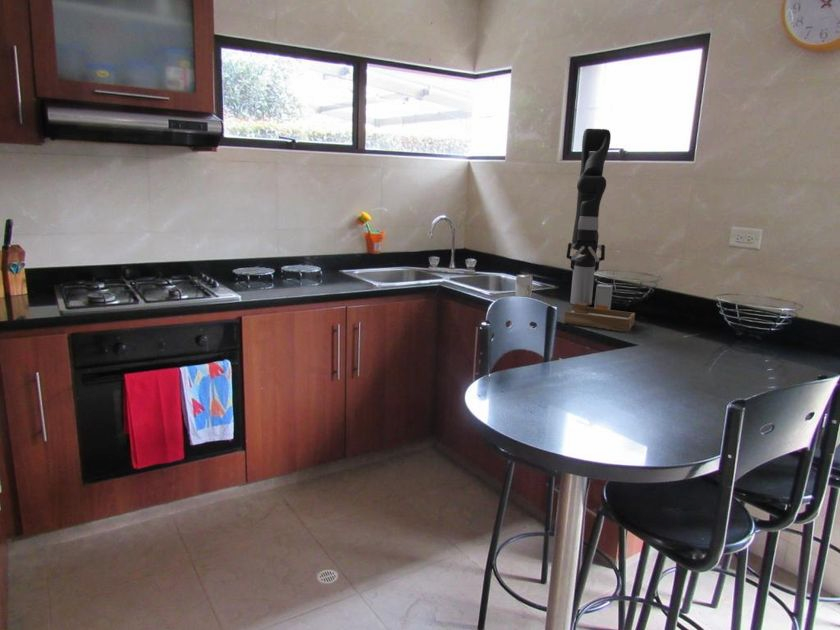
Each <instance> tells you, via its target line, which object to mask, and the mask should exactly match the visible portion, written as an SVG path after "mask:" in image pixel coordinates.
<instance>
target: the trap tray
mask: <svg viewBox="0 0 840 630" xmlns="http://www.w3.org/2000/svg"><path fill="white" fill-rule="evenodd" d="M574 307H575V305H574V304H572V310H571V311H565V312H564V319H563V321H564V322H563V324H565V323H569V324H568V325H572V324H577V325H576V326H580V325H582V326H581V327H587V326H589V328H595V327H598V328H597V329H602V328H606V329H605V330H610V329H612V331H617V330H618V332H626V333H629V332H630V330H631V328H633V326H634V325H635V316H636V312H630V311H622V310H614V309H610V310H607V309H599V308H594V307H589V306H588V312H587V314H581V313H574Z"/></svg>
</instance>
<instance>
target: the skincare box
mask: <svg viewBox="0 0 840 630" xmlns="http://www.w3.org/2000/svg"><path fill="white" fill-rule="evenodd" d="M613 288H614V285H612V284H609V285H608V284H600V283H598V284H597V285H596V290H595V299H594V307H593V308H599V309H607V310H611V307H612V306H611V305H612V297H613V290H614V289H613Z"/></svg>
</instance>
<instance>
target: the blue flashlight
mask: <svg viewBox="0 0 840 630" xmlns="http://www.w3.org/2000/svg"><path fill="white" fill-rule="evenodd" d="M514 288H515V289H514V290H515V291H514V292H515V297H516V296H521V297H530V298H531V295H532V291H533V275H531V274H530V275H529V274H516V278H515V286H514Z"/></svg>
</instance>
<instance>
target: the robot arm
mask: <svg viewBox="0 0 840 630" xmlns="http://www.w3.org/2000/svg"><path fill="white" fill-rule="evenodd" d="M611 138H612V137H611V131H610V130H609V129H606V128H586V129H584V132H583V135H582V140H581V141H582V142H581V143H582V144H581V163H580V172H579V179H578V181H577V182H576V183H577V186H576V187H577V200H576V212H575V220H574V226H573V231H572V239H571V240H572V241H571V242H569V243H567V249H566V250H567V251H566V259H569V260H570V269H571V270H572V279H571V291H570V302H569V303H570V304H571V305H574V306H575V303H576V302H580V303H588V306H591V305H592V303H593V301H592V300H593V290H594V280H595V272H597V271H599V267H600V262H601V261H605V253H606V250H605V249H606V246H605V244H599V236H600V234H599V232H598V231H599V215H600V206H601V202H602V198H603V197H604V196H603V195H604V193H605V191H606V187H607V179H606V178H605V176H604V175H603V172H604V166H605V161H606V159H607V156H608V153H609V149H610V144H611ZM590 152H591V153H593V154H591V155H590ZM598 249H599V251H600V257H598V255H597V251H598ZM572 250H574V251H575V253H574V254H572V255H571V251H572ZM579 255H581V256H580V257H578V256H579Z"/></svg>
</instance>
